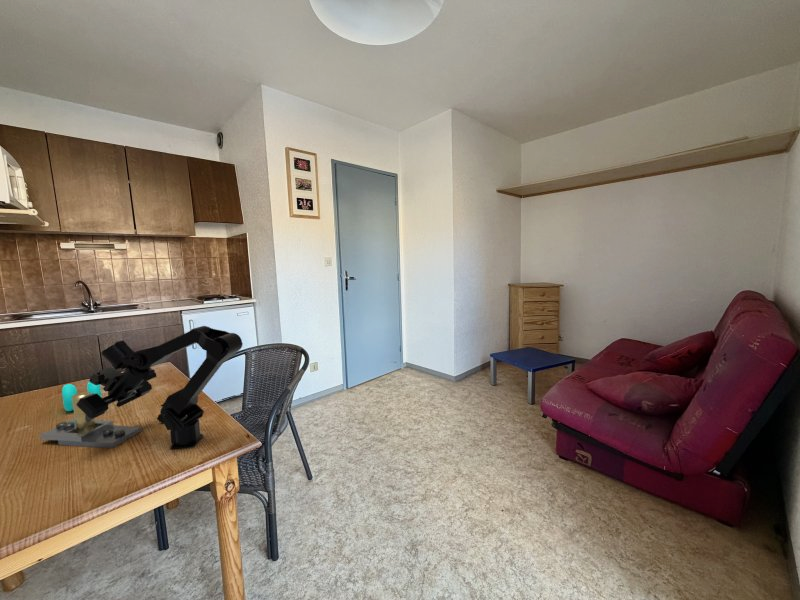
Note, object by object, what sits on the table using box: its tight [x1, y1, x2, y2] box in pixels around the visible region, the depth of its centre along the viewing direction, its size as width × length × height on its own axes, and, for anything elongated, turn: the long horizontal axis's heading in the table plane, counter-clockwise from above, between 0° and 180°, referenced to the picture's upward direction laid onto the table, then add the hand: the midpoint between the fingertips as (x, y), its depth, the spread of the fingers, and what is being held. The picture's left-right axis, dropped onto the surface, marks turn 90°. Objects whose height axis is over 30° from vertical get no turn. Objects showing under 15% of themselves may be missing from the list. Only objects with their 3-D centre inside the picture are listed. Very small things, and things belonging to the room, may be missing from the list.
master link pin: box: [72, 391, 96, 434], centre depth 99 cm, size 4×4×14 cm
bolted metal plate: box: [39, 418, 142, 449], centre depth 99 cm, size 24×10×4 cm, turn 84°
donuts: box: [61, 381, 103, 412], centre depth 120 cm, size 10×10×10 cm
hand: (103, 412), depth 98 cm, fingers open, 9 cm apart
